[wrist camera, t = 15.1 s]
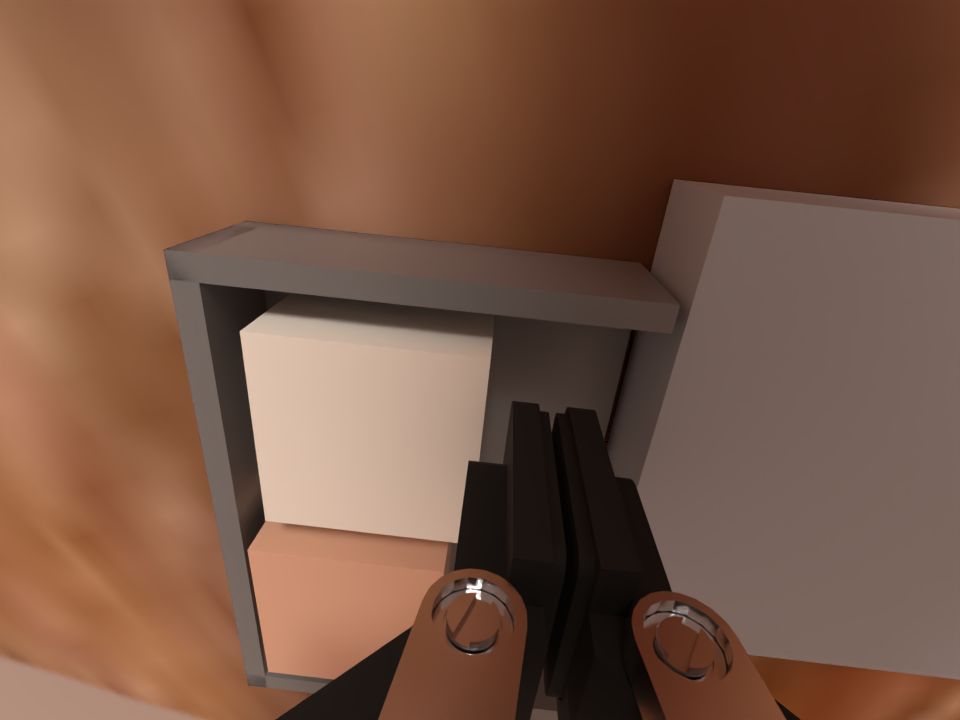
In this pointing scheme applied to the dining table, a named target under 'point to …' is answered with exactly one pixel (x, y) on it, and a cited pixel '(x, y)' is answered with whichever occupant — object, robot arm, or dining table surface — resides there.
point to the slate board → (805, 423)
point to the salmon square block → (337, 593)
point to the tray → (406, 281)
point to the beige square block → (366, 412)
